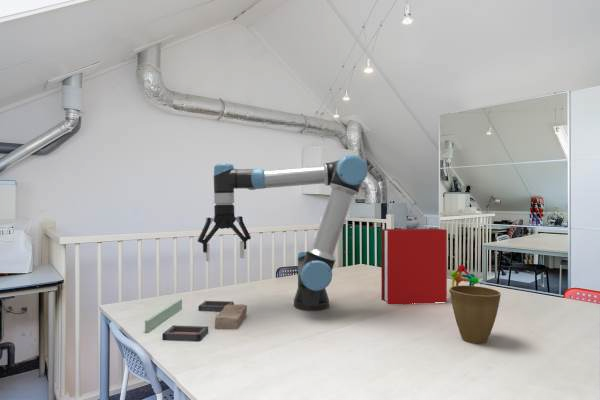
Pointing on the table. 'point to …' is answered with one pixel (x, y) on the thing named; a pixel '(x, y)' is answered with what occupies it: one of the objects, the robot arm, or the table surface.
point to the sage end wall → (162, 315)
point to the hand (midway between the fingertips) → (225, 259)
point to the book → (414, 266)
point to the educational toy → (458, 279)
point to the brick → (230, 317)
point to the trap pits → (194, 331)
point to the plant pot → (475, 311)
